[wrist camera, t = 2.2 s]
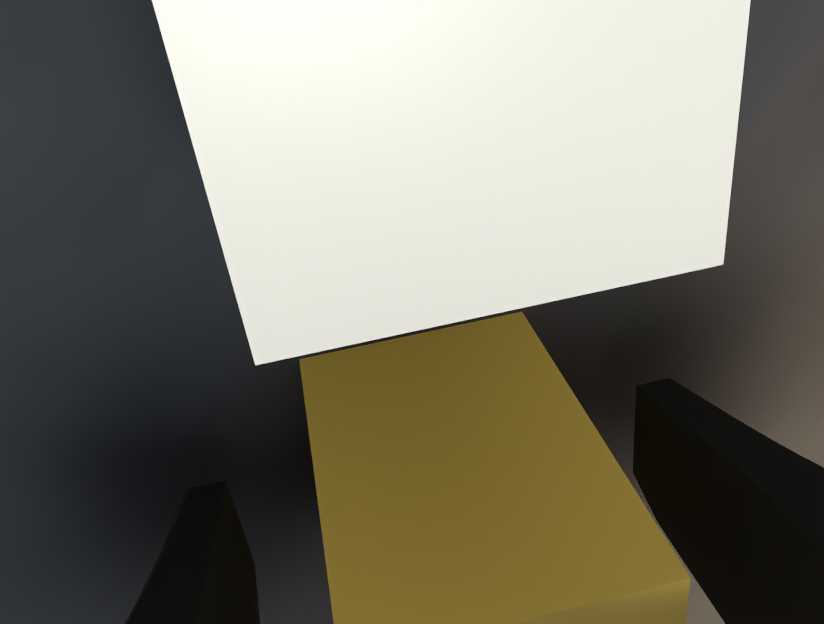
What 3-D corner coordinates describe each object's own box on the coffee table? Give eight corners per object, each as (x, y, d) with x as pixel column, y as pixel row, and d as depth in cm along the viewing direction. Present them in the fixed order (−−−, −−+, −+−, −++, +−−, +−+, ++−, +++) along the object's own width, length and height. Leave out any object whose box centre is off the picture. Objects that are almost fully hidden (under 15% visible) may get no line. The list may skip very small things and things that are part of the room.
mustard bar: (531, 475, 16) (671, 768, 11) (338, 521, 15) (390, 848, 10) (521, 311, 14) (690, 577, 9) (298, 358, 13) (339, 667, 8)
